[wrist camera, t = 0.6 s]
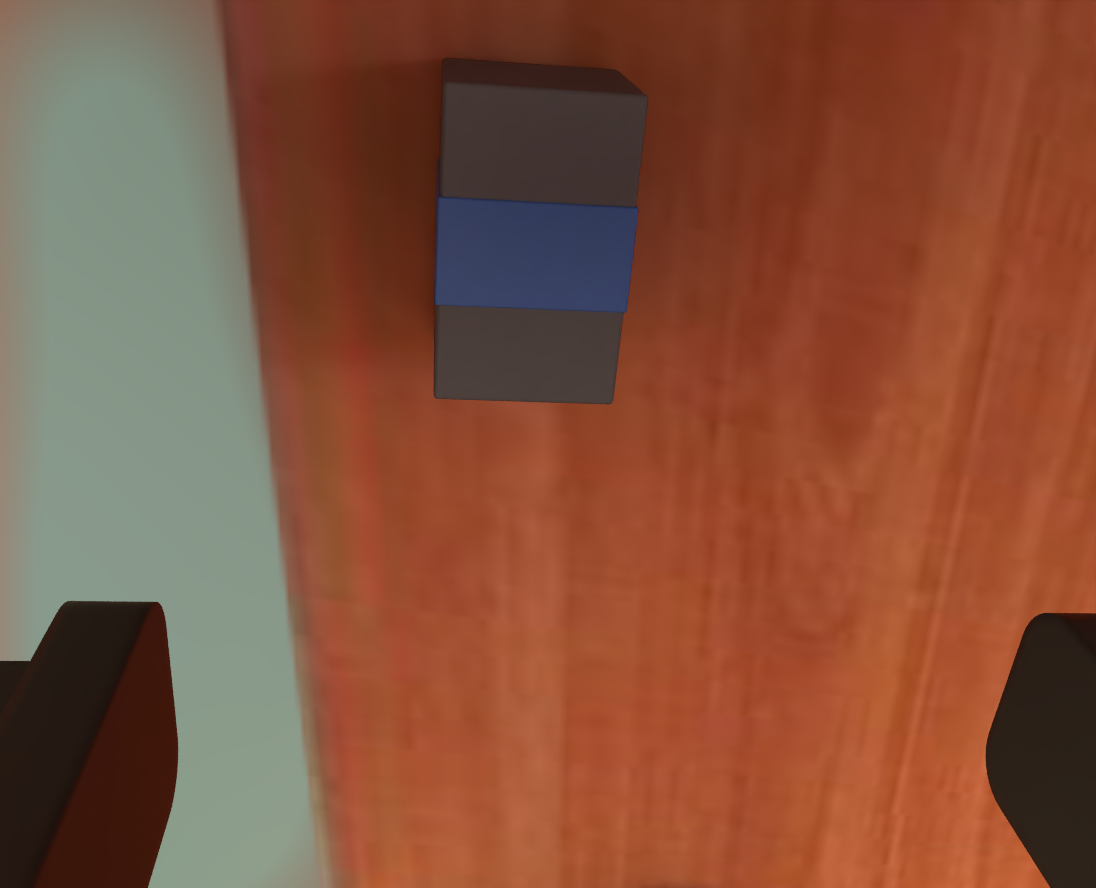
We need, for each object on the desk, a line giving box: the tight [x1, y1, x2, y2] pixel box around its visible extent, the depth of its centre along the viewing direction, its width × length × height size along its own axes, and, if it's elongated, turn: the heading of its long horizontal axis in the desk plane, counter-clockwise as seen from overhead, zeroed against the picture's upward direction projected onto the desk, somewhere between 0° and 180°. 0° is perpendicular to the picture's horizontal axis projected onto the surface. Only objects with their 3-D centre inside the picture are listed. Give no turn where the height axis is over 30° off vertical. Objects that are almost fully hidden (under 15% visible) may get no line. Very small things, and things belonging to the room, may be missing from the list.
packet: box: [434, 58, 648, 404], centre depth 24 cm, size 7×4×4 cm, turn 176°
